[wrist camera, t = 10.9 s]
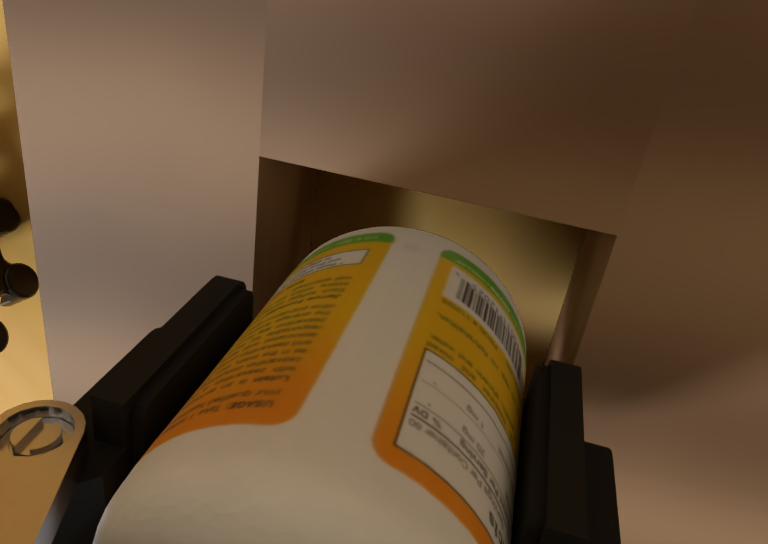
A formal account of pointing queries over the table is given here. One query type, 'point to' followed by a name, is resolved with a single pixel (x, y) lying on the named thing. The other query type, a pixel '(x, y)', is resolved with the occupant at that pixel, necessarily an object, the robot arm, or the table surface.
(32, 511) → the robot arm
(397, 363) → the supplement bottle
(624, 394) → the socket block
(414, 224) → the table surface
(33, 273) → the valve
